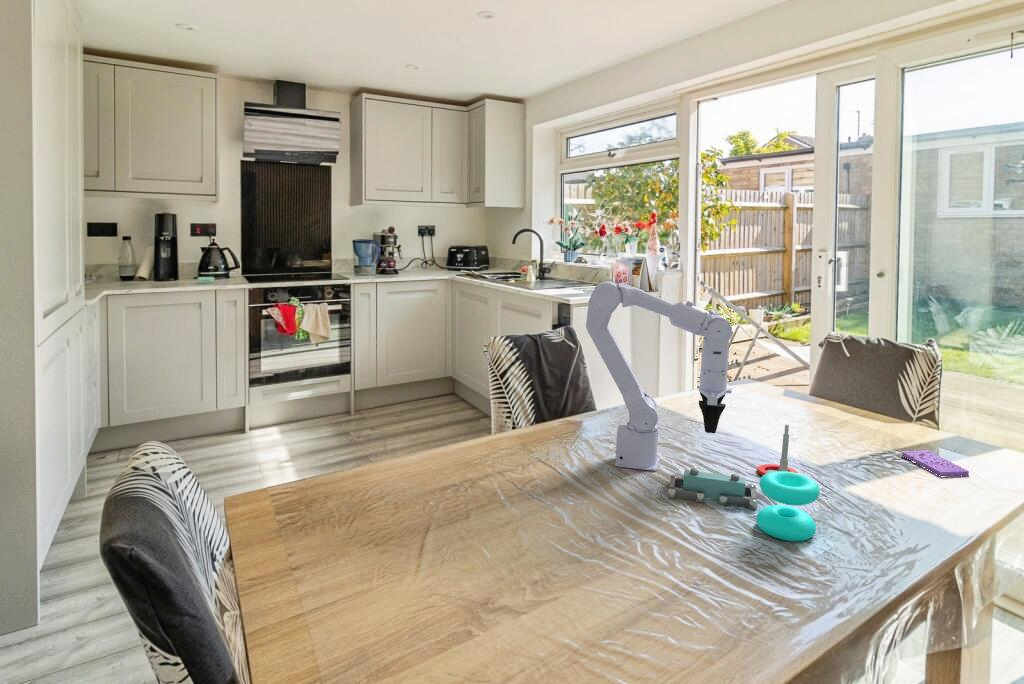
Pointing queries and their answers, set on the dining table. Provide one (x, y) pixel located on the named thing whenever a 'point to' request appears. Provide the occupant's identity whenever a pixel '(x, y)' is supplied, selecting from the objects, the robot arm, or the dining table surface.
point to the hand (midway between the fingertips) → (710, 427)
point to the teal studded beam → (713, 483)
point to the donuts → (786, 518)
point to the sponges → (935, 463)
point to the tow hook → (783, 460)
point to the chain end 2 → (741, 498)
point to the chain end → (683, 491)
